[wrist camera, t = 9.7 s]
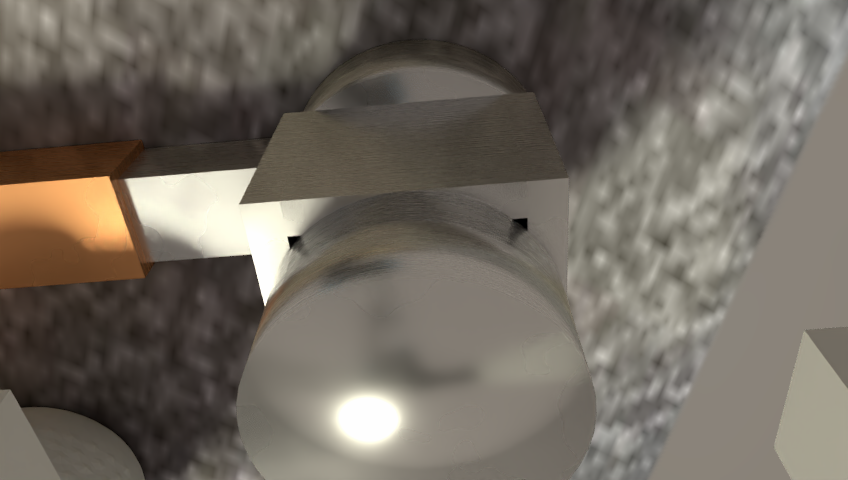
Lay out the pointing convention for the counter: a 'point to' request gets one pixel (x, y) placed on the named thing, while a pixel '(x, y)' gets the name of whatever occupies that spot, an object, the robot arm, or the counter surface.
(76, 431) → the mug
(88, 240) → the ratchet
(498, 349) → the metal knob on block
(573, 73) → the counter surface
